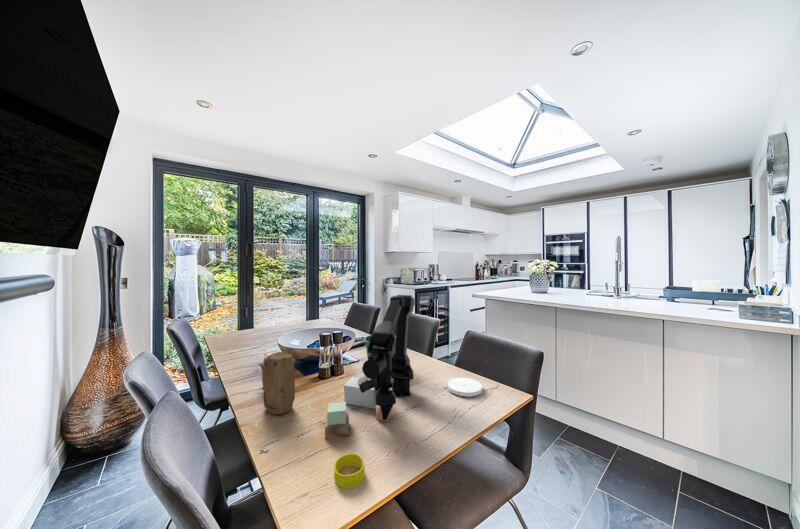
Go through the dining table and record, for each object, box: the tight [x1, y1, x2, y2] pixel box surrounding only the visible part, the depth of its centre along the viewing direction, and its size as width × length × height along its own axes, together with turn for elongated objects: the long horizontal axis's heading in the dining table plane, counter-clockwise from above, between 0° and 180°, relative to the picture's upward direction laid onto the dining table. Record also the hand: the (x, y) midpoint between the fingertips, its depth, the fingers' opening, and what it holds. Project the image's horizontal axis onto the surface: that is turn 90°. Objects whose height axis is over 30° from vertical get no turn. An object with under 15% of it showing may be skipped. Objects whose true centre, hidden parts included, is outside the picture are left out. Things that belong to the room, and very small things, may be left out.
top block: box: [326, 401, 347, 425], centre depth 91 cm, size 6×6×4 cm
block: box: [261, 351, 296, 416], centre depth 104 cm, size 11×8×20 cm
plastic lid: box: [446, 377, 483, 397], centre depth 119 cm, size 14×14×2 cm
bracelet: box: [333, 452, 365, 489], centre depth 72 cm, size 7×8×3 cm
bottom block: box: [324, 412, 350, 440], centre depth 91 cm, size 7×7×4 cm
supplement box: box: [343, 376, 378, 409], centre depth 110 cm, size 7×7×13 cm
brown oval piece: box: [375, 405, 392, 423], centre depth 99 cm, size 5×5×4 cm
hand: (383, 412), depth 98 cm, fingers open, 8 cm apart
